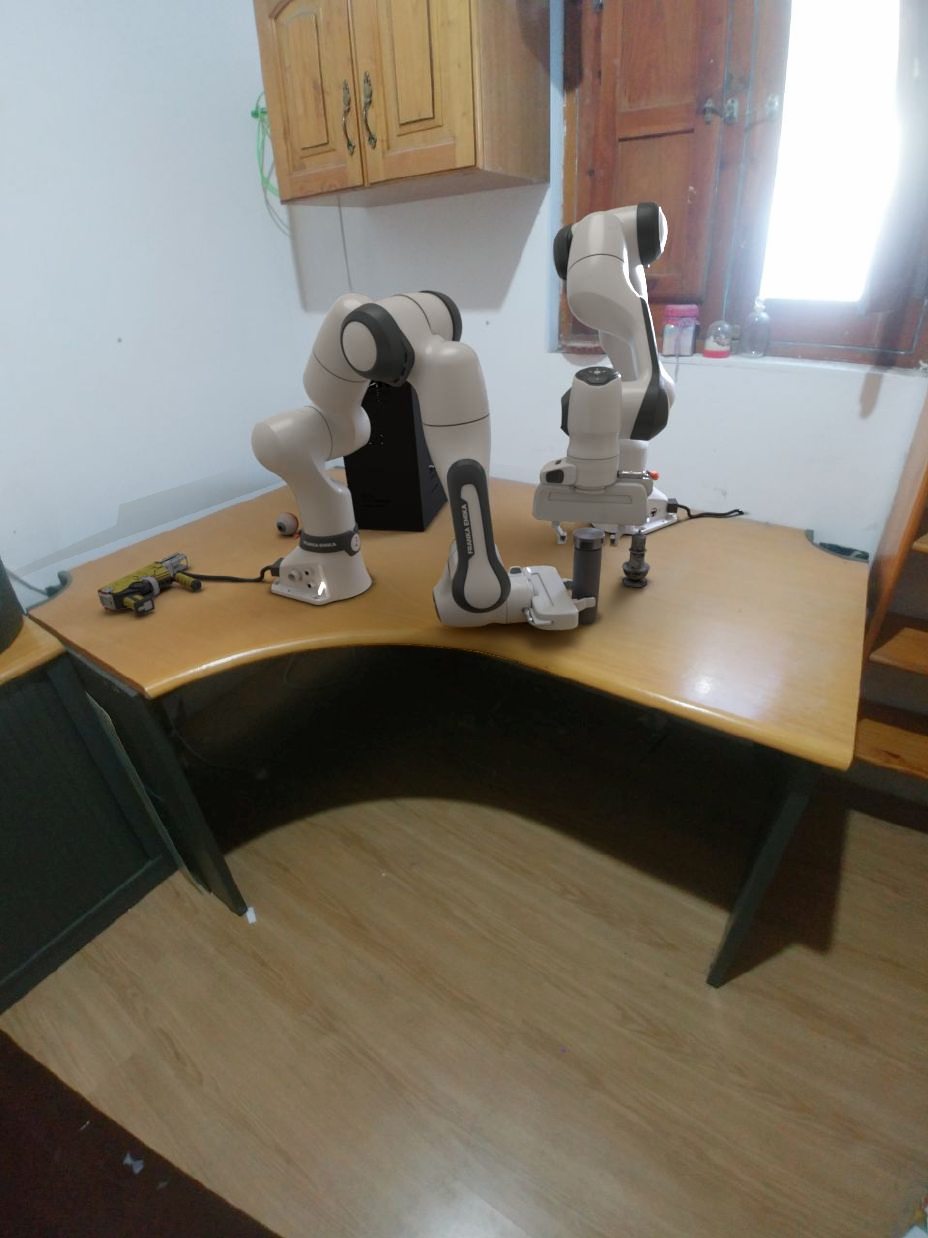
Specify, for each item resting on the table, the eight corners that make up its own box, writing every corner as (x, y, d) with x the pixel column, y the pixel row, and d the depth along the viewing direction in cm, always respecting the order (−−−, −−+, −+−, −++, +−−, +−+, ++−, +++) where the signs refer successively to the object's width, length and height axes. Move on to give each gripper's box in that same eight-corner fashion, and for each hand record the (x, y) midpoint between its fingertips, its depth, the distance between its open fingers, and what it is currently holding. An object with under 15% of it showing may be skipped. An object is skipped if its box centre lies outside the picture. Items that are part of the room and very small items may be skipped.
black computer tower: (424, 530, 162) (407, 348, 139) (353, 528, 166) (326, 351, 144) (457, 486, 193) (448, 332, 171) (397, 485, 198) (380, 334, 175)
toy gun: (225, 560, 144) (174, 549, 148) (148, 603, 124) (91, 589, 127) (228, 578, 146) (177, 567, 150) (152, 623, 126) (96, 609, 130)
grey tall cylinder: (602, 618, 118) (609, 537, 109) (581, 626, 115) (587, 544, 107) (585, 608, 122) (590, 529, 113) (565, 615, 119) (568, 535, 111)
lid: (598, 536, 113) (599, 526, 112) (608, 548, 108) (609, 537, 107) (569, 539, 113) (569, 528, 112) (577, 551, 108) (577, 540, 107)
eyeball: (273, 537, 164) (268, 516, 161) (287, 528, 169) (282, 508, 166) (291, 539, 161) (286, 518, 158) (305, 530, 166) (301, 510, 163)
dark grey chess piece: (649, 588, 127) (655, 535, 121) (620, 586, 128) (625, 534, 122) (647, 575, 132) (653, 524, 126) (620, 574, 133) (624, 523, 127)
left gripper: (528, 611, 105) (606, 603, 105) (509, 562, 122) (576, 556, 123) (528, 641, 108) (604, 634, 109) (510, 590, 125) (575, 584, 126)
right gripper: (655, 466, 104) (646, 541, 111) (537, 463, 109) (536, 534, 116) (654, 477, 99) (645, 555, 105) (530, 473, 104) (530, 547, 111)
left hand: (589, 592), depth 116 cm, fingers closed on grey tall cylinder, 5 cm apart
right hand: (587, 544), depth 111 cm, fingers open, 8 cm apart
